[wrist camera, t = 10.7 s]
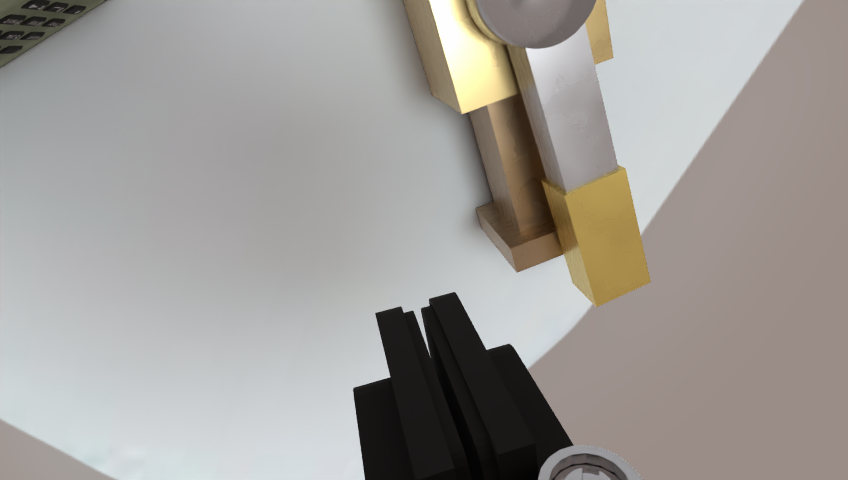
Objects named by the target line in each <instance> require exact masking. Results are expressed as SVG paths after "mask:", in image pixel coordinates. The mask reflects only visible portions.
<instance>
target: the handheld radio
mask: <svg viewBox="0 0 848 480" xmlns="http://www.w3.org/2000/svg"><path fill="white" fill-rule="evenodd" d="M104 1H106V0H0V67H1V66H3V65H4V64H6V63H7V62H9V61H11V60H12V59H14V58H15V57H17V56H18V55H20V54H22V53H23V52H25V51H26V50H28V49H30V48H31V47H33V46H34V45H36V44H37V43H39V42H41V41H42V40H44V39H45V38H47V37H49V36H50V35H52V34H53V33H55V32H56V31H58V30H60V29H61V28H63V27H64V26H66V25H68V24H69V23H71V22H72V21H74V20H76V19H77V18H79V17H80V16H82V15H83V14H85V13H87V12H88V11H90V10H91V9H93V8H95V7H96V6H98V5H99V4H101V3H102V2H104Z"/></svg>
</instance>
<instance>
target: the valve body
mask: <svg viewBox="0 0 848 480" xmlns="http://www.w3.org/2000/svg"><path fill="white" fill-rule="evenodd" d="M403 2H404V6H405V9H406V12H407V15H408V19H409V22H410V25H411V28H412V32H413V35H414V38H415V41H416V45H417V48H418V51H419V54H420V58H421V61H422V64H423V67H424V71H425V74H426V77H427V80H428V84H429V87H430V90H431V93H432V96H434V97H436V98H437V99H439V100H440V101H442V102H444V103H445V104H447V105H448V106H450V107H452V108H453V109H455V110H456V111H458V112H459V113H461V114H464V113H467V112H469V114H470V118H471V121H472V125H473V128H474V132H475V135H476V139H477V143H478V146H479V150H480V153H481V157H482V160H483V164H484V168H485V171H486V175H487V178H488V182H489V186H490V189H491V193H492V196H493V200H494V201H493V202H491V203H488V204H486V205H483V206H480V207H478V208H476V211H477V215H478V218H479V221H480V225H481V228H482V230H483V231H484V232H485V233H486V235H487V236H488V237H489V238H490V240H491V241H492V242H493V243H494V245H495V246H496V247H497V248H498V250H499V251H500V252H501V253H502V255H503V256H504V257H505V258H506V260H507V261H508V262H509V263H510V265H511V266H512V267H513V268H514V270H515V271H516V272H520V271H522V270H525V269H527V268H530V267H532V266H535V265H538V264H540V263H543V262H545V261H548V260H550V259H553V258H555V257H558V256H561V255H563V254H564V253H563V249H562V246H561V243H560V239H559V236H558V233H557V230H556V226H555V223H554V220H553V217H552V213H551V210H550V207H549V204H548V200H547V197H546V194H545V190H544V187H543V184H542V181H541V180H543V179H545V178H546V174H545V171H544V168H543V164H542V161H541V158H540V154H539V151H538V148H537V144H536V141H535V138H534V134H533V131H532V128H531V124H530V121H529V118H528V114H527V111H526V108H525V104H524V101H523V98H522V94H521V91H520V88H519V84H518V81H517V78H516V74H515V71H514V68H513V64H512V61H511V58H510V54H509V51H508V48H507V45H503V44H500V43H498V42H495V41H493V40H492V39H490V38H489V37H487V36H486V35H485V34H484V33H483V32H482V31H481V30H480V29H479V28H478V26H477V25H476V24H475V22H474V20H473V18H472V17H471V14H470V12H469V9H468V5H467V2H466V0H403ZM585 25H586V29H587V33H588V38H589V42H590V46H591V51H592V55H593V60H594V64H598V63H601V62H603V61H606V60H609V59H611V58H613V52H612V45H611V38H610V31H609V24H608V17H607V10H606V3H605V0H596V3H595V5H594V8H593V10H592V12H591V14H590V15H589V17H588V19H587V20H586V21H585Z"/></svg>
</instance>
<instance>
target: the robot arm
mask: <svg viewBox="0 0 848 480" xmlns="http://www.w3.org/2000/svg"><path fill="white" fill-rule="evenodd" d="M429 304H430V306H428V307H424V308H421V313H422V318H423V323H424V327H425V332H426V337H427V342H428V347H429V352H430V355H429V352H428V350H427V347H426V344H425V341H424V339H423V336H422V333H421V330H420V328H419V325H418V322H417V319H416V317H415V314H414V311H409V312H406V313H403V310H402V307H401V306H400V307H397V308H393V309H389V310H385V311H382V312H378V313H375V314H376V318H377V322H378V327H379V331H380V335H381V339H382V343H383V347H384V352H385V356H386V360H387V364H388V368H389V372H390V378H387V379H383V380H380V381H376V382H373V383H369V384H366V385H362V386H359V387H355V388H354V389H353V392H354V401H355V408H356V415H357V423H358V430H359V437H360V445H361V452H362V460H363V467H364V474H365V480H644V479H643V478H642V477H641V476H640V475H639V474H638V473H637V472H636V471H635V470H634V469H633V468H632V467H631V466H630V465H629V464H628V463H627V462H625V461H624V460H623V459H622V458H621V457H620V456H618V455H616V454H614V453H612V452H610V451H608V450H606V449H603V448H599V447H595V446H590V445H578V446H577V445H576V446H574V445H573V444H572V442H571V440H570V439H569V437H568V435H567V434H566V432H565V430H564V429H563V427H562V426H561V424H560V422H559V421H558V419H557V418H556V416H555V414H554V412H553V411H552V409H551V408H550V406H549V404H548V403H547V401H546V399H545V398H544V396H543V394H542V393H541V391H540V390H539V388H538V387H537V385H536V383H535V381H534V380H533V378H532V377H531V375H530V373H529V372H528V370H527V368H526V367H525V365H524V363H523V362H522V360H521V359H520V357H519V355H518V354H517V352H516V350H515V349H514V348H513V346H512V345H510V344H506V345H503V346H499V347H496V348H492V349H489V350H486V349H485V347H484V345H483V343H482V341H481V339H480V337H479V335H478V333H477V332H476V330H475V328H474V326H473V324H472V322H471V320H470V318H469V317H468V315H467V313H466V311H465V309H464V307H463V305H462V303H461V301H460V300H459V298H458V296H457V294H456V293H455V292H453V293H449V294H445V295H442V296H438V297H434V298H430V299H429ZM430 357H431V358H430Z"/></svg>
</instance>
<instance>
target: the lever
mask: <svg viewBox="0 0 848 480" xmlns="http://www.w3.org/2000/svg"><path fill="white" fill-rule="evenodd" d="M466 2H467V5H468V9H469V12H470V14H471V17H472V18H473V20H474V22H475V24H476V25H477V26H478V28H479V29H480V30H481V31H482V32H483V33H484V34H485V35H486V36H487V37H489V38H490V39H492V40H493V41H495V42H498V43H500V44H503V45H507V48H508V51H509V54H510V58H511V61H512V64H513V68H514V71H515V74H516V78H517V81H518V84H519V88H520V91H521V94H522V98H523V101H524V104H525V108H526V111H527V114H528V118H529V121H530V124H531V128H532V131H533V134H534V138H535V141H536V144H537V148H538V151H539V154H540V158H541V161H542V164H543V168H544V171H545V174H546V178H545V179H543V180H541V181H542V184H543V187H544V190H545V194H546V197H547V200H548V204H549V207H550V210H551V213H552V217H553V220H554V223H555V226H556V230H557V233H558V236H559V239H560V243H561V246H562V249H563V253H564V256H565V259H566V262H567V266H568V269H569V272H570V275H571V279H572V282H573V284H574V285H575V286H576V287H577V288H578V289H579V290H580V291H581V292H582V293H583V294H584V295H585V296H586V297H587V298H588V299H589V300H590V301H591V302H592V303H593V304H594V305H595V306H596V307H598V306H600V305H602V304H604V303H606V302H609V301H610V300H613V299H615V298H617V297H619V296H622V295H624V294H626V293H628V292H630V291H633V290H635V289H637V288H639V287H641V286H643V285H645V284H648V283H650V277H649V272H648V269H647V263H646V259H645V254H644V250H643V245H642V241H641V236H640V232H639V227H638V223H637V218H636V214H635V209H634V205H633V200H632V196H631V191H630V187H629V182H628V178H627V173H626V169H625V168H623V167H621V166H619V165H617V160H616V156H615V151H614V147H613V143H612V138H611V134H610V130H609V125H608V121H607V116H606V112H605V108H604V103H603V99H602V95H601V90H600V86H599V81H598V77H597V73H596V68H595V64H594V60H593V55H592V51H591V46H590V42H589V38H588V33H587V29H586V25H585V21H586V20H587V19H588V17H589V15H590V14H591V12H592V10H593V8H594V5H595V3H596V0H466Z"/></svg>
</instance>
